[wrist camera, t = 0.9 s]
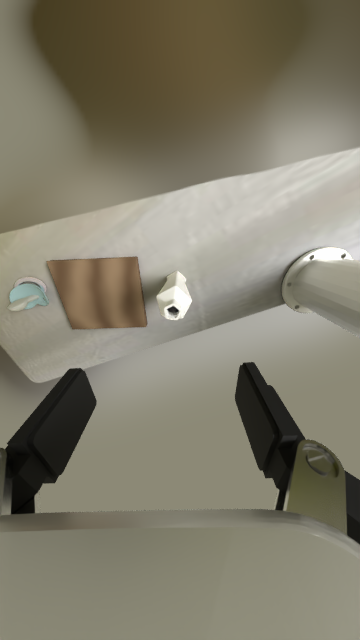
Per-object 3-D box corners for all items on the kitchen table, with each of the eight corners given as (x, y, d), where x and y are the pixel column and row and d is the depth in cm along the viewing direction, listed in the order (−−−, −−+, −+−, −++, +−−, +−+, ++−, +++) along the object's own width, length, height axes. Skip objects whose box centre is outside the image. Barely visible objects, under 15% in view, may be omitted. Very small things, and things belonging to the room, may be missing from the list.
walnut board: (137, 256, 30) (135, 257, 29) (147, 323, 37) (146, 326, 35) (52, 260, 31) (46, 261, 29) (76, 325, 37) (72, 329, 36)
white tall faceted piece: (172, 296, 34) (166, 335, 21) (160, 277, 32) (146, 307, 19) (192, 286, 33) (199, 320, 20) (181, 266, 31) (182, 288, 18)
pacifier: (10, 279, 33) (27, 307, 35) (-26, 287, 27) (-3, 320, 30) (43, 273, 32) (58, 302, 35) (14, 279, 27) (34, 313, 29)
